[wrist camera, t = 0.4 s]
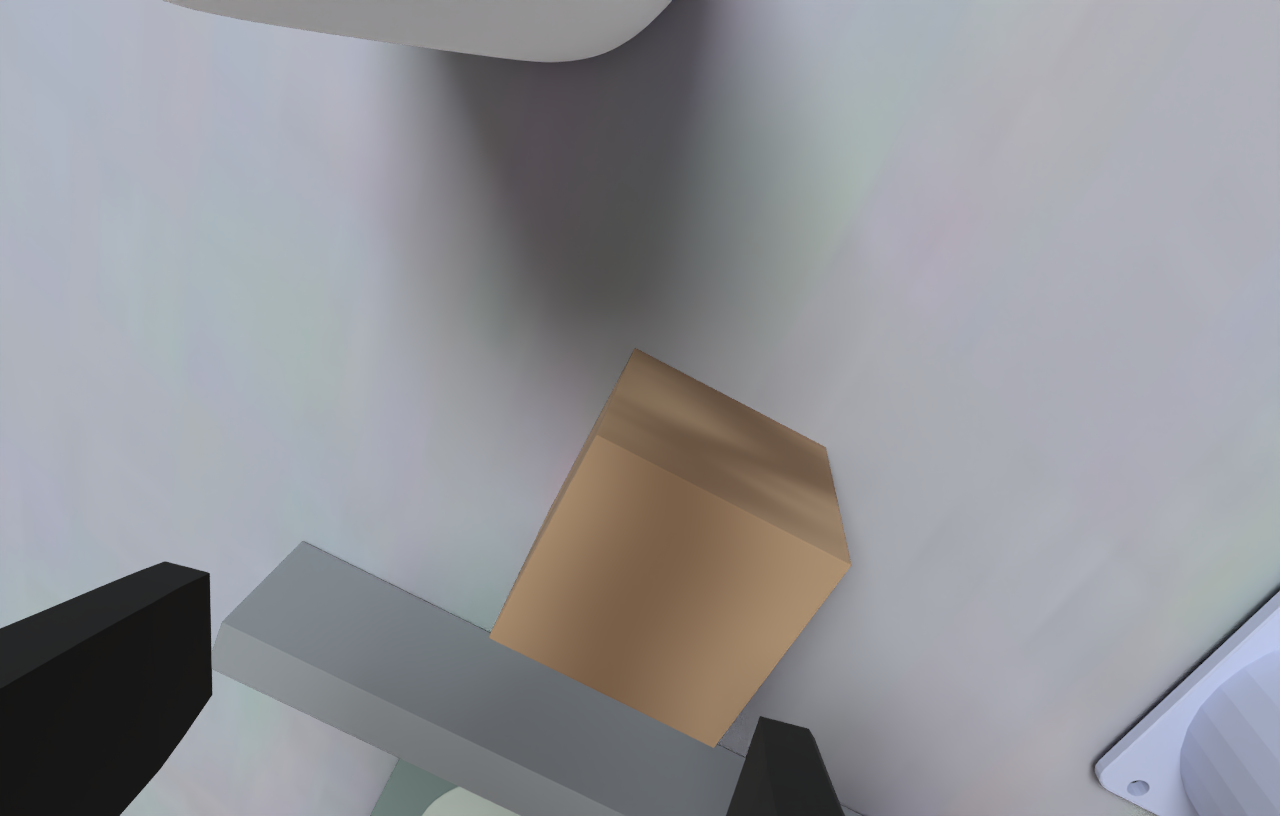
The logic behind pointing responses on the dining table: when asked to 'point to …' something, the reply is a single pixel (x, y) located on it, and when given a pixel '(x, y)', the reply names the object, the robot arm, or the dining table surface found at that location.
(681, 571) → the walnut block
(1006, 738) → the dining table surface
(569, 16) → the can
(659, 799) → the low wall
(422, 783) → the mat
